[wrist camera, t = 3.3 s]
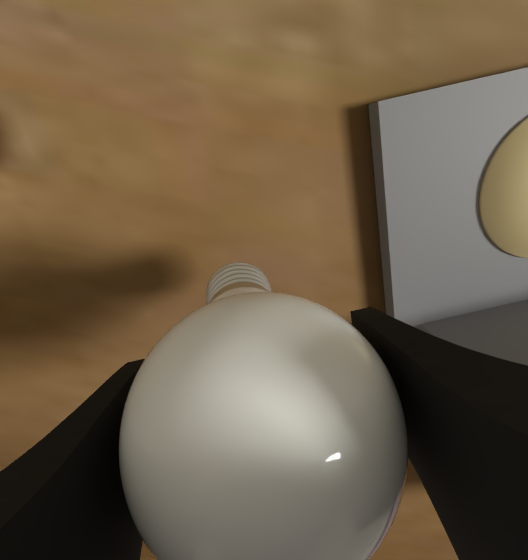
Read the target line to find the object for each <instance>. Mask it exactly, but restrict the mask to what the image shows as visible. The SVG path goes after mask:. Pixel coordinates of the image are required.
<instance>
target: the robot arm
mask: <svg viewBox="0 0 528 560" xmlns="http://www.w3.org/2000/svg"><path fill="white" fill-rule="evenodd" d="M351 319H352V326H354V327H355V328H356V329H357V330H358V331H359V332H360V333H361V334H362V335H363V336H364V337H365V338H366V339H367V340H368V341H369V343H370V344H371V345H372V346H373V348H374V349H375V350H376V352H377V353H378V354H379V356H380V357H381V359H382V360H383V362H384V364H385V365H386V367H387V369H388V371H389V373H390V375H391V377H392V379H393V381H394V383H395V386H396V388H397V391H398V394H399V397H400V400H401V403H402V407H403V411H404V416H405V421H406V427H407V436H408V457H409V459H410V461H411V462H412V464H413V466H414V468H415V470H416V471H417V473H418V475H419V477H420V479H421V481H422V483H423V485H424V487H425V489H426V491H427V493H428V495H429V497H430V499H431V501H432V504H433V506H434V508H435V510H436V512H437V514H438V516H439V518H440V520H441V522H442V524H443V526H444V529H445V531H446V533H447V535H448V537H449V539H450V541H451V543H452V546H453V548H454V550H455V552H456V554H457V556H458V558H459V560H528V365H524V364H520V363H516V362H512V361H508V360H504V359H501V358H497V357H494V356H491V355H487V354H484V353H481V352H477V351H474V350H471V349H468V348H465V347H462V346H459V345H457V344H454V343H451V342H449V341H446V340H444V339H441V338H438V337H436V336H433V335H431V334H429V333H426V332H424V331H422V330H419V329H417V328H415V327H413V326H410V325H408V324H406V323H404V322H402V321H400V320H398V319H395V318H393V317H391V316H389V315H387V314H385V313H383V312H381V311H379V310H376V309H374V308H371V307H368V308H364V309H359V310H355V311H351ZM144 360H145V359H141V360H137V361H133V362H128V363H126V364H125V365H124V366H122V367H121V368H120V369H119V370H118V371H117V372H116V373H114V374H113V375H112V376H111V377H110V378H109V379H108V380H107V381H106V382H105V383H104V384H103V385H102V386H100V387H99V388H98V389H97V390H96V391H95V392H94V393H93V394H92V395H91V396H90V397H89V398H88V399H87V400H86V401H85V402H83V403H82V404H81V405H80V406H79V407H78V408H77V409H76V410H75V411H74V412H73V413H71V414H70V415H69V416H68V417H67V418H66V419H65V420H64V421H62V422H61V423H60V424H59V425H58V426H57V427H56V428H54V429H53V430H52V431H51V432H50V433H49V434H48V435H46V436H45V437H44V438H43V439H42V440H41V441H39V442H38V443H37V444H36V445H34V446H33V447H32V448H31V449H29V450H28V451H27V452H26V453H24V454H23V455H22V456H21V457H19V458H18V459H17V460H15V461H14V462H13V463H11V464H10V465H9V466H7V467H6V468H5V469H4V470H2V471H1V472H0V560H140V554H141V547H142V540H143V539H142V537H141V536H140V534H139V532H138V530H137V528H136V526H135V524H134V522H133V519H132V517H131V515H130V512H129V509H128V506H127V503H126V500H125V496H124V492H123V488H122V483H121V477H120V469H119V433H120V425H121V419H122V414H123V410H124V406H125V402H126V399H127V396H128V393H129V390H130V388H131V385H132V383H133V380H134V378H135V376H136V374H137V372H138V370H139V368H140V367H141V365H142V363H143V362H144Z"/></svg>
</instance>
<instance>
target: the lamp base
mask: <svg viewBox="0 0 528 560" xmlns="http://www.w3.org/2000/svg"><path fill="white" fill-rule="evenodd" d="M368 108H369V119H370V131H371V143H372V154H373V166H374V178H375V190H376V201H377V213H378V225H379V236H380V248H381V260H382V272H383V283H384V295H385V307H386V314H387V315H389V316H391V317H393V318H395V319H398V320H400V321H402V322H404V323H406V324H408V325H410V326H413V327H415V328H417V329H419V330H422V331H424V332H426V333H429V334H431V335H433V336H436V337H438V338H441V339H444V340H446V341H449V342H451V343H454V344H457V345H459V346H462V347H465V348H468V349H471V350H474V351H477V352H481V353H484V354H487V355H491V356H494V357H497V358H501V359H504V360H508V361H512V362H516V363H520V364H524V365H528V67H527V68H522V69H518V70H514V71H509V72H505V73H501V74H496V75H492V76H487V77H483V78H479V79H474V80H470V81H466V82H461V83H457V84H452V85H448V86H444V87H439V88H435V89H431V90H426V91H422V92H417V93H413V94H409V95H404V96H400V97H396V98H391V99H387V100H382V101H378V102H375V103H371V104H368Z"/></svg>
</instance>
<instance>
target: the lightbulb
mask: <svg viewBox="0 0 528 560" xmlns="http://www.w3.org/2000/svg"><path fill="white" fill-rule="evenodd" d="M407 467H408V436H407V427H406V421H405V416H404V411H403V407H402V403H401V400H400V397H399V394H398V391H397V388H396V386H395V383H394V381H393V379H392V377H391V375H390V373H389V371H388V369H387V367H386V365H385V364H384V362H383V360H382V359H381V357H380V356H379V354H378V353H377V352H376V350H375V349H374V348H373V346H372V345H371V344H370V343H369V341H368V340H367V339H366V338H365V337H364V336H363V335H362V334H361V333H360V332H359V331H358V330H357V329H356V328H355V327H354V326H352V325H351V324H350V323H349V322H348V321H346V320H345V319H344V318H342V317H341V316H339V315H338V314H336V313H335V312H333V311H332V310H330V309H328V308H326V307H324V306H322V305H320V304H318V303H316V302H313V301H311V300H308V299H305V298H302V297H299V296H295V295H291V294H286V293H279V292H272V290H271V287H270V285H269V282H268V279H267V278H266V276H265V275H264V273H263V272H262V271H261V270H260V269H258V268H257V267H255V266H253V265H251V264H248V263H231V264H228V265H225V266H223V267H221V268H220V269H218V270H217V271H216V272H215V273H214V274H213V275H212V276H211V278H210V280H209V282H208V285H207V290H206V305H204V306H202V307H200V308H198V309H197V310H195V311H193V312H192V313H190V314H189V315H187V316H186V317H184V318H183V319H181V320H180V321H179V322H178V323H176V324H175V325H174V326H173V327H172V328H171V329H170V330H169V331H168V332H167V333H166V334H165V335H164V336H163V337H162V338H161V339H160V340H159V341H158V342H157V343H156V345H155V346H154V347H153V348H152V350H151V351H150V352H149V354H148V355H147V357H146V358H145V360H144V362H143V363H142V365H141V367H140V368H139V370H138V372H137V374H136V376H135V378H134V380H133V383H132V385H131V388H130V390H129V393H128V396H127V399H126V402H125V406H124V410H123V414H122V419H121V425H120V433H119V469H120V477H121V483H122V488H123V492H124V496H125V500H126V503H127V506H128V509H129V512H130V515H131V517H132V519H133V522H134V524H135V526H136V528H137V530H138V532H139V534H140V536H141V537H142V539H143V541H144V542H145V544H146V545H147V547H148V548H149V550H150V551H151V552H152V554H153V555H154V556H155V557H156V559H157V560H369V559H370V558H371V557H372V555H373V554H374V553H375V552H376V550H377V549H378V547H379V546H380V544H381V543H382V541H383V540H384V538H385V536H386V535H387V533H388V531H389V529H390V527H391V525H392V523H393V521H394V518H395V516H396V513H397V511H398V508H399V505H400V502H401V499H402V495H403V491H404V486H405V481H406V475H407Z"/></svg>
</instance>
